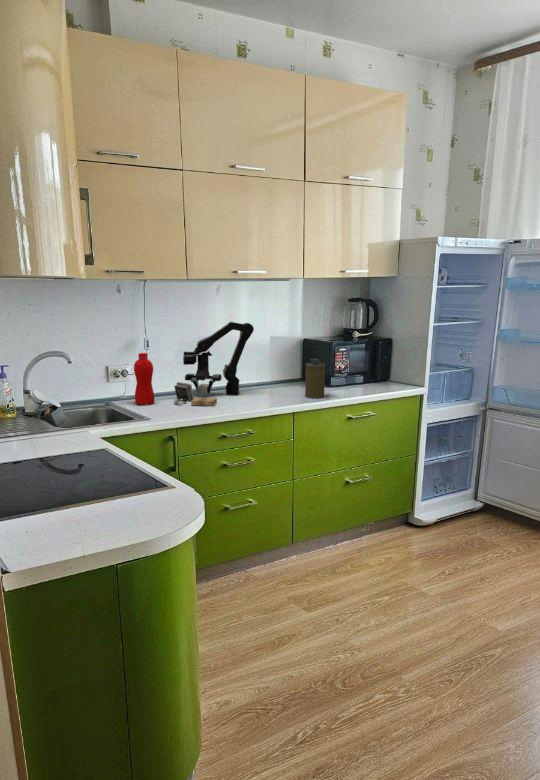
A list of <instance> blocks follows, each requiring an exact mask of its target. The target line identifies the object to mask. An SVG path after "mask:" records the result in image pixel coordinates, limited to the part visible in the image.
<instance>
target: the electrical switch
mask: <svg viewBox="0 0 540 780" xmlns="http://www.w3.org/2000/svg"><path fill="white" fill-rule="evenodd" d="M174 391H175V395H176V399H183V400H189V401H188V402H191V401H192V400H193V399H194V398H195V394H194V389H193V386H192V384H191V382H190V383H188V382H182V381H180V382H179V381H177V382H176V385H174ZM183 400H182V401H183Z"/></svg>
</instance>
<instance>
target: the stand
mask: <svg viewBox="0 0 540 780" xmlns="http://www.w3.org/2000/svg"><path fill="white" fill-rule="evenodd" d="M217 400H218V398H217V397H194V399H193V400H190V403H191V404H190V405H191V407H208V406H214V405H215V404H216V405H217V402H218V401H217ZM216 405H215V406H216ZM215 406H214V407H215Z"/></svg>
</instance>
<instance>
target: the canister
mask: <svg viewBox="0 0 540 780" xmlns="http://www.w3.org/2000/svg"><path fill="white" fill-rule="evenodd" d="M325 377H326V363H325V362H321V361H320V359H319V358H311V359H310V362H307V363H305V381H304V383H305V384H304V385H305V389H304V391H305V392H304V397H305V398H307V399H324V398H325V385H326V384H325V381H326V378H325Z"/></svg>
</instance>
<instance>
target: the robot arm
mask: <svg viewBox="0 0 540 780" xmlns="http://www.w3.org/2000/svg"><path fill="white" fill-rule="evenodd" d="M254 330H255V328H254V326H253V324H251V323H248V322H243V323H239V322H233V321H229V322H228V323H227V324H225V325H224V326H223V327H221V328H220V329H218V330H217V331H215V332H214V333H212V334H211V335H209V336H207V337H204V338H202V339H200V340H199V341H197V344H196V347H195V349H194V350H193V351H183V355H182V356H183V357H182V364H183V365H184V366H185V365H187V366H189V365H192V366H193V365H195V364H196V363H197V370H196V373H186V375H184V381H190V383H193V385H194V387H195V389H196V391H197V387H198V386H199V385H200V384H199V381H205V380H209V381H208V384H209V390H208V393H210V394H211V390H212V388H213V384H214V383H216V382H220V381H221V380H223V379H222V377H224V378H225V380H226V381H227V382H226V385H225V395H226V396H232V395H233V396H239V394H240V392H241V391H240V379H239V378H238V377H237V375H236V374H237V369H238V364H239V361H240V358H241V356H242V354H243V351H244V349H245V346H246V344H247V341H248V340H249V339H250V337H251V336H252V335H253V333H254ZM232 331H239V338H238V341H237V343H236V345H235V348H234V350H233V353H232V356H231V358H230V361H229V363H228V364H225V365H224V368H223V370H222V372H223V373H222V374H221V373H217V374H216V373H214V374H212V375H210V371H209V367H210V366H209V364H210V363H209V357H211V356H213V354H212V353H211V351H210V350H209V349H210V348H211V347H212V346H213V345H214V344H215V343H216V342H217V341H219V340H220V339H221V338H223V337H225V336H226V335H227V334H228V333H230V332H232Z"/></svg>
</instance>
